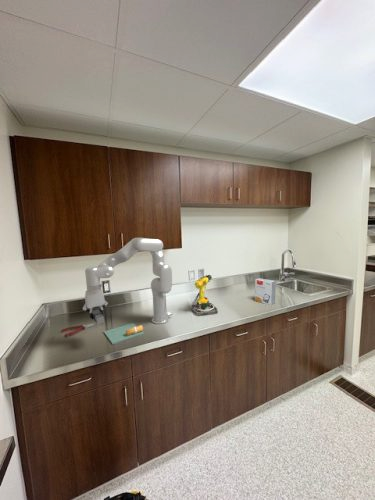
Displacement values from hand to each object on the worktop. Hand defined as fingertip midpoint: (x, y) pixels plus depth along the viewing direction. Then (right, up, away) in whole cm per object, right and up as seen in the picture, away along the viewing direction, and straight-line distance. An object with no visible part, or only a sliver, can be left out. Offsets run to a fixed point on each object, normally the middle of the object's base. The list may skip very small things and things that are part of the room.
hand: (96, 317), depth 126 cm
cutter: (+1, -1, -2) cm, 2 cm away
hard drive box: (+122, -6, +59) cm, 136 cm away
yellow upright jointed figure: (+69, -9, +44) cm, 82 cm away
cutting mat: (+13, -14, +10) cm, 22 cm away
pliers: (-20, -15, +16) cm, 30 cm away
